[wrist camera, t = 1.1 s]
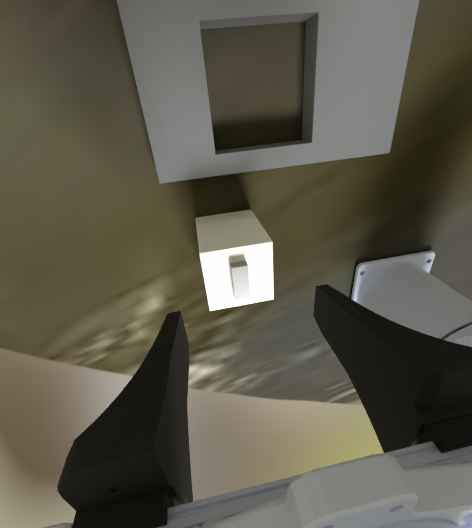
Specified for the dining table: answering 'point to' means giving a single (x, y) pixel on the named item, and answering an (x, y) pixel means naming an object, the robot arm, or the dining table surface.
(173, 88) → the socket plate
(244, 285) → the block
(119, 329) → the dining table surface
